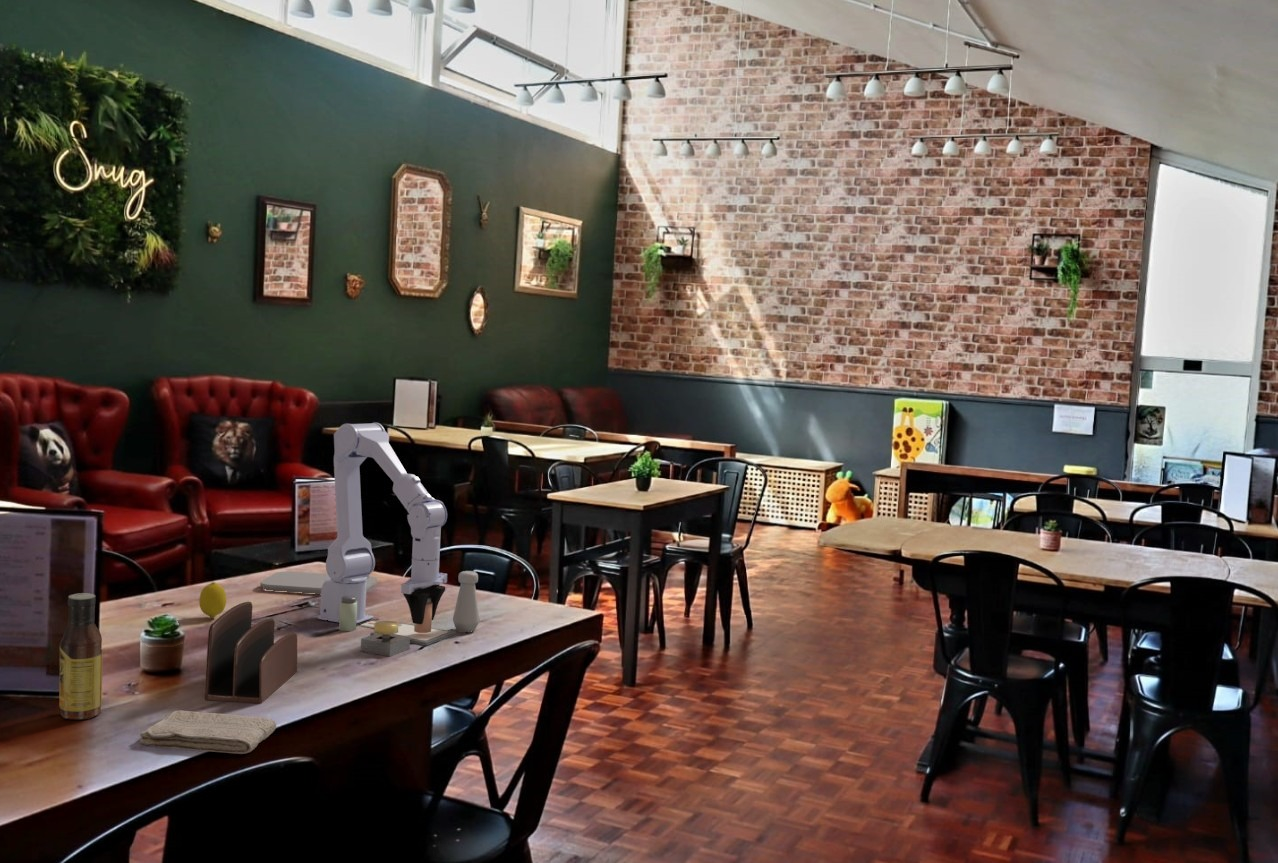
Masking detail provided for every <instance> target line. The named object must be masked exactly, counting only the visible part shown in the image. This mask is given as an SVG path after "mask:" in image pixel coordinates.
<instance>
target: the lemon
mask: <svg viewBox="0 0 1278 863" xmlns="http://www.w3.org/2000/svg"><path fill="white" fill-rule="evenodd" d="M198 601H199V607H200V608H199V609H200V611H202V612H203V614H205V615H206V616H208V617H209V619H214V618H216V617H217V616H218V615H220V614H221V613H223V612H224V610H225V608H226V605H227V592H226V590H225V589H224V588H223V586H222V585H220V584H218V583H216V582H210V583H209V584H207V585H205V586H204V587H203V588H202V589H201V591H200V595H199V600H198Z"/></svg>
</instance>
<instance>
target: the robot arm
mask: <svg viewBox="0 0 1278 863" xmlns="http://www.w3.org/2000/svg"><path fill="white" fill-rule="evenodd" d="M389 442H390V435H389V433H388V432H387V431H386V430H385V428H384V426H383V425H382V424H381V423H379V422H372V423H343V424H341V425H340V427H338V428H337V430H336V431H335V432H334V433H333V444H334V445H333V446H334V447H333V448H334V453H333V454H334V455H333V467H334V468H333V473H334V474H333V475H334V476H333V477H334V490H335V491H334V496H335V509H336V510H335V511H336V512H335V513H336V514H335V516H336V536H337V537H336V539H334V540H333V542H332V543H331V544H330V545H329V546H328V547H327V558H326V561H325V571H326V574H328V575H329V577H330V578H328V579H327V580H326V581H325V582H324V583H323V586H322V589H321V595H320V608H319V615H318V616H317V619H318V620H323V621H327V620H328V621H329V622H335V623H339V617H340V601H342V597H343V596H354V597H356V601H357V622H356V624H359V623H362V622H365V621H368V620H372V619H374V615H372V614H371V615H370V614H366V602H367V593H366V580H367V579H369V577H370V575H371V574H373V572H374V570H375V566H376V558H375V556H374V552H373V551H372V543H371V542H370V541H369V540H368V539H367V538H366V537H364V534H363V516H362V498H361V497H362V496H361V494H362V493H361V474H360V473H361V472H360V466H361V465H362V464H363V462H365V460H366V459H368V458H372V459H374V461H375V462H376V463H377V464H378V465H379V467H380V468H381V469H382V470H383V472H384V473H385V474H386V475H387V476H388V477H389V478H390V480H391V481H392V482H393V486H392V492H393V493H394V494H395V495H396V497H397V499H398V500H399V501H400V503H401V504H402V506H403V507H404V509H405V510H406V511H407V513H408V514H407V516H406V518H407V522H408V524H409V526H410V535H411V537H412V549H411V550H412V553H411V577H410V578H409V579H407V580H406V581H405V582H403V583H401V584H400V585H401V587H400V588H401V589H400V594H402V595H403V597H404V598H405V600H406V602H407V604H408V608H409V611H410V612H409V613H410V616H411V621H412V624H414V623H415V624H423V620H424V614H425V607H426V603H427V600H428V598H429V597H430V598H431V602H432V621H434V619H435V615H436V612H437V609H438V605H439V602H440V601H441V598H442V596H443V594H444V592H446V586H445V585H444V586H443V585H442V584H447V583H448V573H444V572H440V556H441V555H440V552H441V531H442V530H441V529H442V527H443V526H445V524H446V523H447V519H448V511H447V508H446V506H445V504H444V502H443V501H442V500H439V499H435V498H434V497H432V495H431V494H430V493H429V492H428V491H427V489H426V488H425V487H424V485H423V484H422V483H421V479H420V478H419V476H416V475H415V474H413V473H407V471H406V469H405V468H404V466H403V464H402V463H401V461H400V459H399V457H398V456H397V454H396V452H395V451H394V449H393V447H392V446H391V444H390V443H389Z"/></svg>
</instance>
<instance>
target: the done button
mask: <svg viewBox="0 0 1278 863" xmlns="http://www.w3.org/2000/svg"><path fill="white" fill-rule="evenodd" d="M375 622H376V623H374V628H373V632H375V633H377V634H382V640H390V634H395V633H398V623H399V622H396V621H392V620H382V621H381V620H380V621H375Z"/></svg>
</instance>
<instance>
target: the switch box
mask: <svg viewBox="0 0 1278 863" xmlns="http://www.w3.org/2000/svg"><path fill="white" fill-rule="evenodd" d="M410 646H411V643H410V637H409V636H403V635H397V634H390V640H382V634H377V633H376V634H374V635H371V634H370V635H368V636H365V637H363V638H360V652H363V651H364V653H369V654H375V655H378V656H379V655H380V656H385V657H392V656H394V655H397V654H399V653H402V652H405V651H407V650H410V648H411V647H410Z"/></svg>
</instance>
